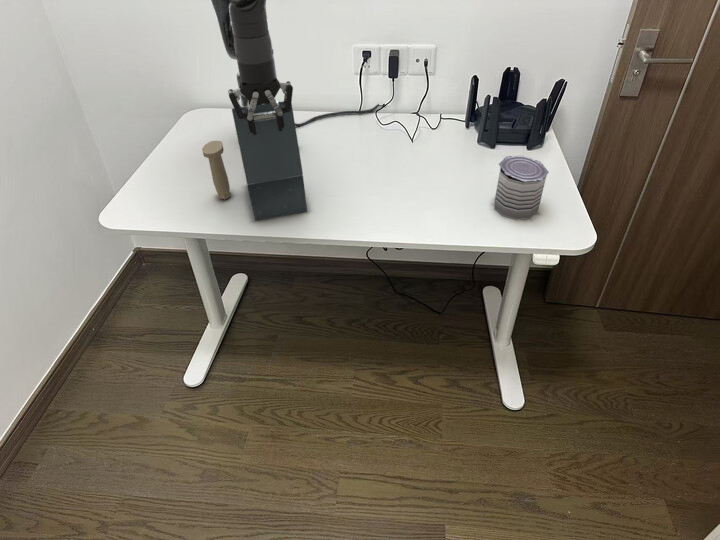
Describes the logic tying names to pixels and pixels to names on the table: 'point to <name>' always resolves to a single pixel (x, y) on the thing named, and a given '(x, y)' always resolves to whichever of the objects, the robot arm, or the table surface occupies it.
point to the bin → (277, 197)
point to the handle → (217, 167)
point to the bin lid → (268, 145)
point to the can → (519, 187)
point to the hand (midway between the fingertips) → (267, 131)
